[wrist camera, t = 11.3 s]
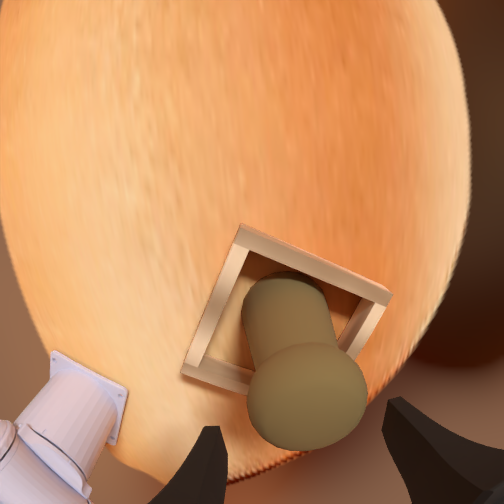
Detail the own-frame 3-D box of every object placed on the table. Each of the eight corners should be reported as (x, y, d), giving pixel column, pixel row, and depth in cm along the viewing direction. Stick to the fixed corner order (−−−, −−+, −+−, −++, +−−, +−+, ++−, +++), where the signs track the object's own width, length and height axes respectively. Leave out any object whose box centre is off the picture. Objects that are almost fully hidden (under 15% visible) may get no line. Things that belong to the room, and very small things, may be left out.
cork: (240, 348, 21) (235, 470, 10) (242, 270, 20) (235, 367, 9) (321, 348, 21) (366, 460, 11) (331, 272, 20) (405, 359, 9)
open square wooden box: (312, 398, 22) (316, 414, 20) (185, 357, 21) (180, 372, 19) (381, 284, 20) (393, 294, 18) (241, 222, 19) (240, 227, 17)
